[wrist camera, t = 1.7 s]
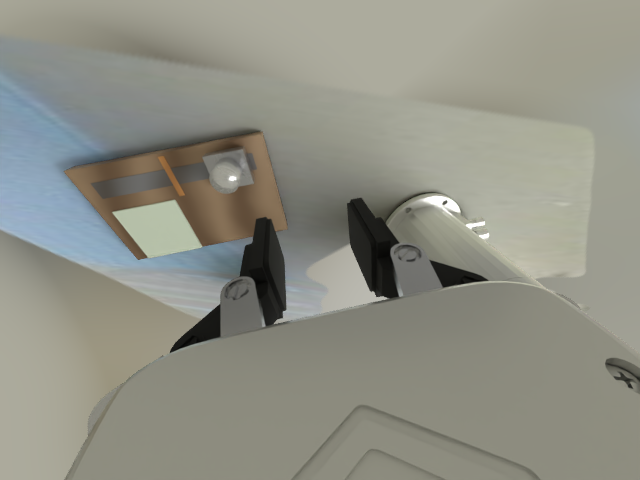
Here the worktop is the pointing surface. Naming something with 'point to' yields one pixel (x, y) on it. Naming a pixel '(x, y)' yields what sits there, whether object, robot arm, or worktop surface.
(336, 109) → the worktop surface
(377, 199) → the worktop surface
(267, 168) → the board
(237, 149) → the silver slider knob
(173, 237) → the pad
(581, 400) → the robot arm
